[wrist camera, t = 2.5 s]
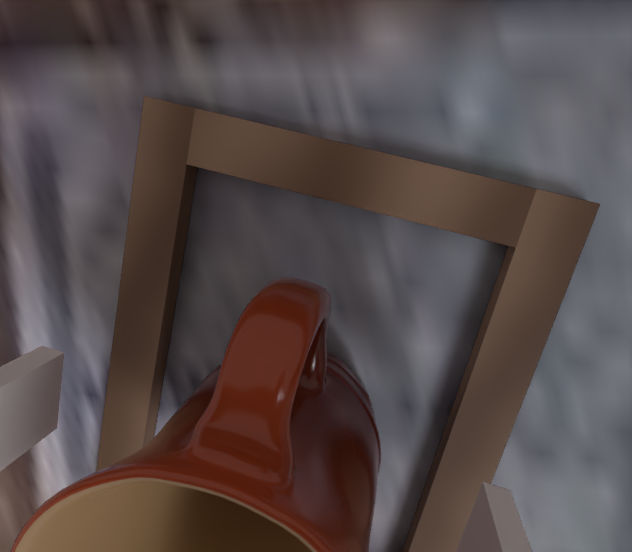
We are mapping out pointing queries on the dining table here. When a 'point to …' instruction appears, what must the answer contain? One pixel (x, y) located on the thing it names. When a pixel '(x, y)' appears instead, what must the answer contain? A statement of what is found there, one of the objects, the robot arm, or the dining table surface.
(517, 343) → the frame
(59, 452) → the dining table surface
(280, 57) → the dining table surface
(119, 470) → the mug
